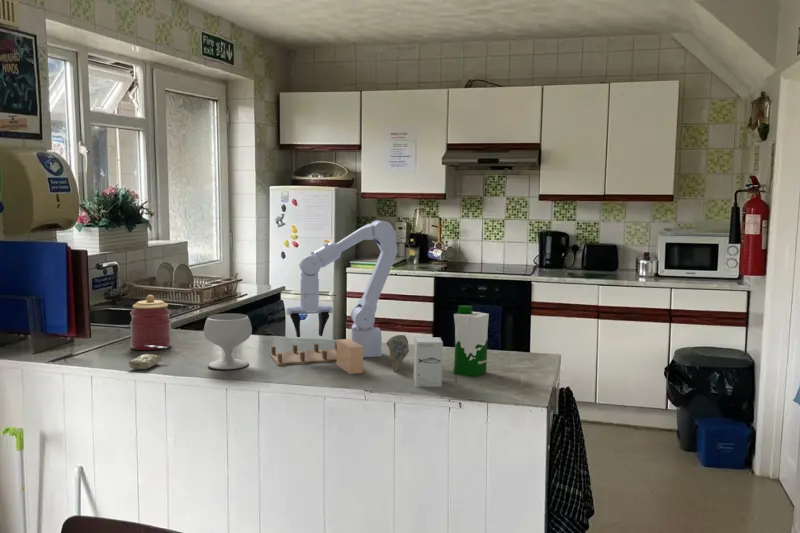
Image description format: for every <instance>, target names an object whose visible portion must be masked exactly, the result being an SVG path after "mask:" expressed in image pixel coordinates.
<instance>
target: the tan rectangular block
mask: <svg viewBox="0 0 800 533" xmlns="http://www.w3.org/2000/svg"><path fill="white" fill-rule="evenodd" d="M336 342H337V361H336V363H335V364H336V366H337V367H339V368H341V369H342V370H343V371H344V372H346V373H347V374H349V375H355V374H362V373H364V357H363V346H361V345H359V344H357V343H356V342H354V341H352V340H351V339H350V338H343V339H336Z"/></svg>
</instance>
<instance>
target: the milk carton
mask: <svg viewBox="0 0 800 533" xmlns="http://www.w3.org/2000/svg"><path fill="white" fill-rule="evenodd" d="M457 308H458V309H457V311H458V312H456V313H453V320H454V332H455V333H454V336H455V337H454V362H453V363H454V364H453V365H454V366H453V375H459V376H464V375H465V376H464V377H471V378H478V377H479V376H482V375H484V374H485V372H486V373H487V363H488V361H487V358H488V331H489V330H488V327H489V316H490V314H489V313H486V312H481V311H473V306H472V305H469V304H467V305H466V304H463V305H461V304H460V305H458V307H457ZM483 373H484V374H483ZM481 374H482V375H481Z"/></svg>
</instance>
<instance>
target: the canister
mask: <svg viewBox="0 0 800 533" xmlns="http://www.w3.org/2000/svg"><path fill="white" fill-rule="evenodd" d="M168 306H169V304H168V303H166V302H165V301H164V300H161V299H155V296H154V295H153V294H148V295H147V296H146V298H145V299H144V300H139V301H136V302H135V304H134V303H133V305H132V308H133V309H132V310H131V311H130V312H129V314H130V316H131V321H130V322H129V323H130V346H131V349H133V350H137V351H153V350H154V351H155V350H162V349H164V348H155V347H145V345H152V346H162V347H168V348H170V347H171V343H172V334H171V333H172V332H171V330H172V328H171V322H172V321H171V320H172V319H171V320H170V315H171V312H172V311H171V310H170V309H169V308H168Z"/></svg>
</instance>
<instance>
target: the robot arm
mask: <svg viewBox="0 0 800 533" xmlns="http://www.w3.org/2000/svg"><path fill="white" fill-rule="evenodd" d="M396 235H397V233H396V231H395V228H394V227H393V225H392V224H391V223H390V222H388V221H385V220H379V219H378V220H373V221H371V223H367V224H365V225H363V226H362V227H360V228H358V229H357V230H355V231H353V232H352V233H350V234H348V235H347V236H345V237H344V238H342V239H340V240H339V241H338V242H333V241H332V242H325V243H323V244H322V245H323V246H322V247H320V248H318V249H317V250H315V251H313V250H312V251H311V252H309V253H310V255H305V256H303V257H302V258H301V260H300V263H299V264H298V266H299V269H300V271H301V272H300V277H301V278H300V306H296V307H295V306H294V307H286V308H285V309H286V310H285V313H286V315H287V316H290V319H291V322H292V323H293V326H294V329H295V330H294V331H295V335H296V337H297V338H301V328H300V327H301V318H302V317H301V316H300V315H306V314H307V315H308V314H318V316H317V317H318V336H320V337H323V334H324V330H325V327H326V324H327V322H328V320H329V318H330V314H333V309H334V308H333V306H332V305H330V306H329V305H328V306H327V305H325V306H324V305H322V306H321V305H320V304H319V302H320V297H319V296H320V293H319V292H320V284H319V283H320V279H319V272H320V270H321V269H322V268H324V267H326V266H328V265H331V264H332V263H333V262H335V261H336V260H338V259H340V258H341V255H342V252H344V251H345V250H347V249H349V248H351V247H353V246H355V245H357V244H358V243H360V242H362V241H370V240H371V241H373V240H374V241H375V242H376V244H377V247H378V249H379V250H380V253H379V256H378V258H377V261H376V264H375V265H374V267H373V270H372V272H371V275H370V277H369V279H368V280H369V281H368V283H367V285H366V287H365V290H364V292H363V295H362V296H361V298H360V299H359V301H358V303H357V305H355V307H354V308H353V309H351V312H350V319H351V321H352V322H353V324H352V325H351V339H350V340H352V341H354V342H356V343H357V344H359V345H361V346H363V358H376V357H383V354H382V336H383V335H382V331H381V328H380V327H375V326H374V324H375V321H376V312H377V307H378V305H377V304H378V301H379V299H380V296H381V294H382V291H383V288H384V287H385V284H386V282H387V279H388V277H389V275H390V271H391V269H392V267H393V265H394V262H395V259H396V257H397V255H398V245H397V239H396Z"/></svg>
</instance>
